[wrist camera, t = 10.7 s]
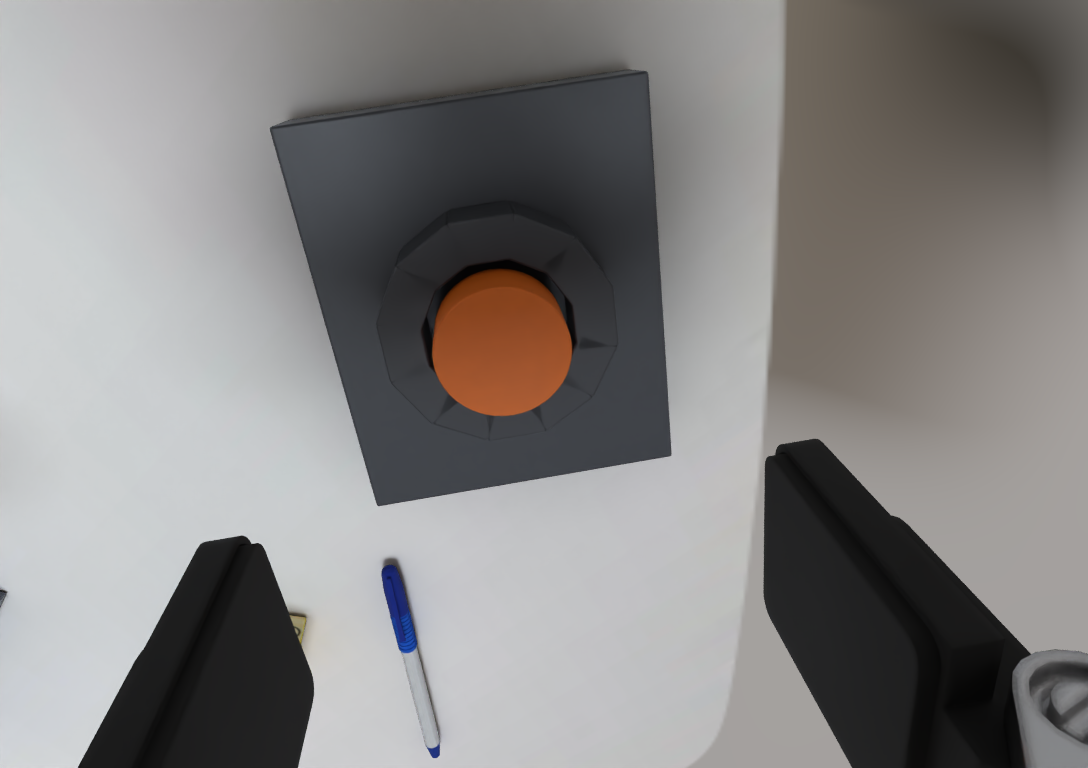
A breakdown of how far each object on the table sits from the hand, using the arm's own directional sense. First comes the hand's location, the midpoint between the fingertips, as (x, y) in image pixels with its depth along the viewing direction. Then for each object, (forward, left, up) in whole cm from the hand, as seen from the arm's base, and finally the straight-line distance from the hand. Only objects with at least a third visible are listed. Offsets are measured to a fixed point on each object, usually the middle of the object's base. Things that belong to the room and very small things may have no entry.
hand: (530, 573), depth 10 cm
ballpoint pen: (+15, -6, -14) cm, 21 cm away
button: (0, 0, -10) cm, 10 cm away
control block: (0, 0, -14) cm, 14 cm away
